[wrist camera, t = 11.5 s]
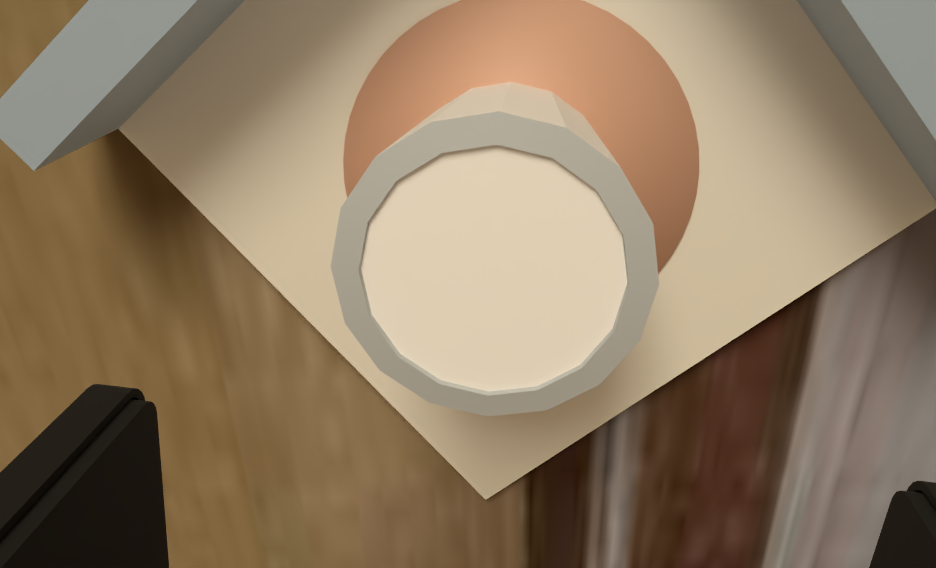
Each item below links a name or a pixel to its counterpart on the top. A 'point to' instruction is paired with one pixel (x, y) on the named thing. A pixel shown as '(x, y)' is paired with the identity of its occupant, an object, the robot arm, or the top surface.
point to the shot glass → (496, 255)
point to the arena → (541, 66)
